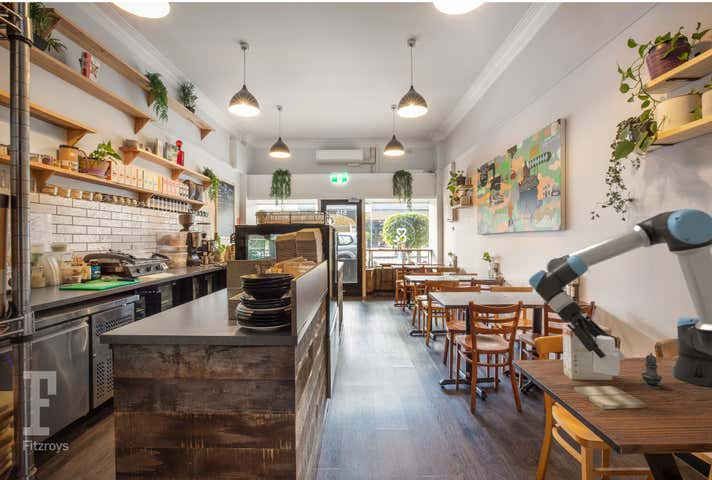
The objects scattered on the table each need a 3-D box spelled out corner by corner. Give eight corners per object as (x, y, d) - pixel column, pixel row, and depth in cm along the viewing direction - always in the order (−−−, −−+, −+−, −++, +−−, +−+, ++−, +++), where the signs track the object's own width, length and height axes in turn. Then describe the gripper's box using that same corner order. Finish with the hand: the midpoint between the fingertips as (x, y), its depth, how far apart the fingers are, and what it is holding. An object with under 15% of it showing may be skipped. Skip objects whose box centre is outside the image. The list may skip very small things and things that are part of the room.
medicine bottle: (595, 365, 126) (594, 331, 126) (620, 370, 121) (619, 334, 121) (592, 371, 120) (592, 336, 120) (619, 376, 116) (618, 339, 116)
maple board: (612, 389, 128) (612, 385, 128) (645, 407, 114) (645, 403, 114) (574, 390, 127) (574, 387, 127) (602, 409, 113) (602, 405, 113)
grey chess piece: (666, 389, 127) (665, 355, 127) (647, 388, 128) (646, 354, 128) (656, 383, 133) (655, 350, 133) (637, 382, 134) (637, 349, 134)
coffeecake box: (602, 373, 143) (601, 324, 143) (613, 380, 136) (612, 329, 136) (562, 373, 144) (561, 324, 144) (571, 380, 137) (570, 329, 137)
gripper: (570, 309, 139) (620, 361, 127) (543, 317, 127) (596, 376, 114) (585, 297, 135) (638, 350, 122) (559, 304, 122) (615, 363, 110)
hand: (618, 362), depth 118 cm, fingers closed on medicine bottle, 8 cm apart
